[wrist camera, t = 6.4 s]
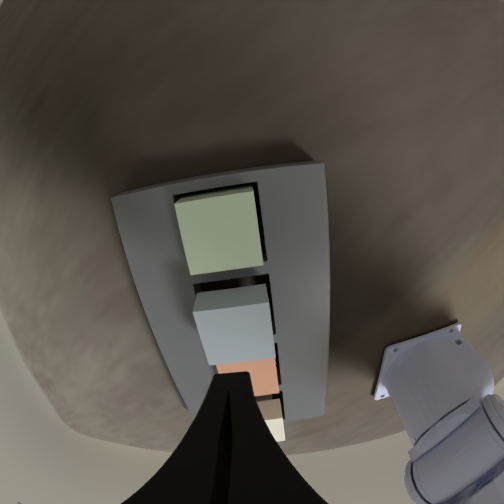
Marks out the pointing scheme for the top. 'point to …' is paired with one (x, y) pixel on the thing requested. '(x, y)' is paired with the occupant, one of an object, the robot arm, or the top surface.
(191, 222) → the key sage
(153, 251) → the grey slotted tray
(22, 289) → the top surface
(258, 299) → the key slate
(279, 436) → the key ivory
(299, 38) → the top surface
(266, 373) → the key terracotta
